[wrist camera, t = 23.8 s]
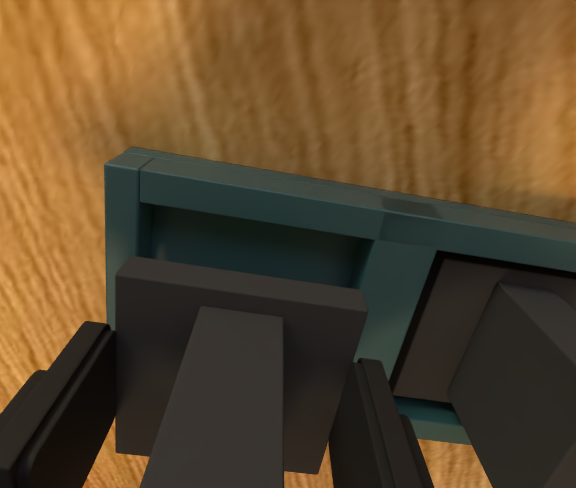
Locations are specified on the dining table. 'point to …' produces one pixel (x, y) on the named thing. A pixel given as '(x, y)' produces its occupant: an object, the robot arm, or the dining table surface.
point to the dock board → (316, 242)
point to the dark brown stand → (499, 363)
